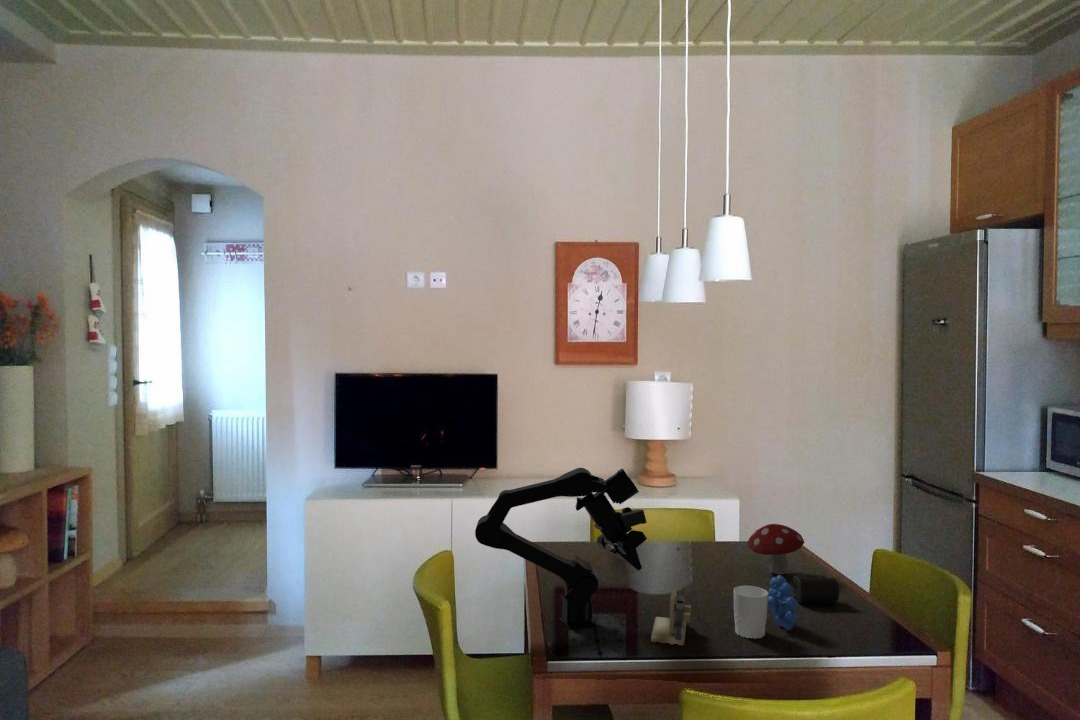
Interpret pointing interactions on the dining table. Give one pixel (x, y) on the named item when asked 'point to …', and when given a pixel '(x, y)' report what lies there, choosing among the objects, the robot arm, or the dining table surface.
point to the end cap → (815, 589)
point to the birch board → (665, 632)
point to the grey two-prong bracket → (679, 618)
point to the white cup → (750, 611)
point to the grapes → (782, 602)
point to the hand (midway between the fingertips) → (639, 569)
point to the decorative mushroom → (775, 545)
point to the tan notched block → (673, 610)
